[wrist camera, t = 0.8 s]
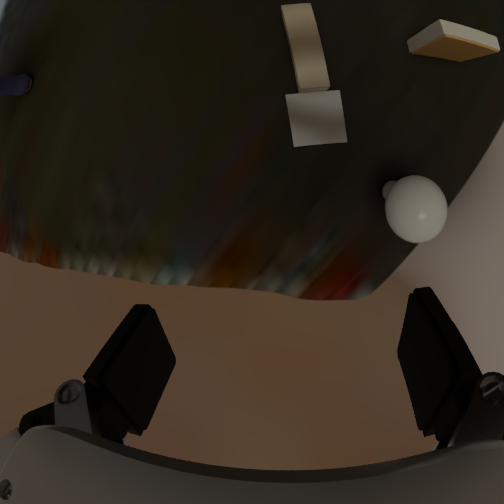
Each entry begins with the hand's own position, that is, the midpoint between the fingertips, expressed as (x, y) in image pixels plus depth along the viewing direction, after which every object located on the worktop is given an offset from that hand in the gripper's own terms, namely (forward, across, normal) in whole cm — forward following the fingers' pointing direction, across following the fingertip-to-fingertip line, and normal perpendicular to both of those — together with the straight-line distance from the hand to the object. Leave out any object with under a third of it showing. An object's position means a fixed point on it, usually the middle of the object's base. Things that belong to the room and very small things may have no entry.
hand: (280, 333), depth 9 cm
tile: (+24, -21, -17) cm, 36 cm away
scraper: (+24, -4, -12) cm, 28 cm away
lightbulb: (+24, -12, +2) cm, 27 cm away
